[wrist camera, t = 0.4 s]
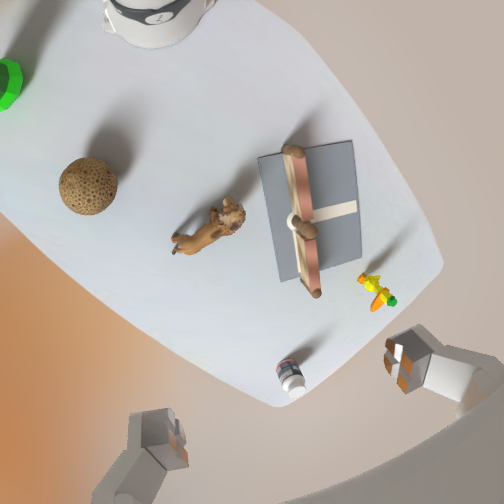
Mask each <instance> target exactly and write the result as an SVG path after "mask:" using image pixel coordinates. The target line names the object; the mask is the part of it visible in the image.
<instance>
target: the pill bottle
mask: <svg viewBox="0 0 504 504" xmlns="http://www.w3.org/2000/svg"><path fill="white" fill-rule="evenodd" d="M276 372H277V375H278V377H279V379H280V382H281V384H282V387H283V389H284V390H285V391H287V392H288V394H289V396H290V397H291V398H298V397H301V396H302V395H304V394H305V392H306V387H305V385H304V384H305V379H304V377H303V375H302V373H301V371H300V369H299V367H298V365H297V363H296V362H295V361H294V360H292V359H286V360H283V361H281V362H280V363H279V364H278V365H277V367H276Z"/></svg>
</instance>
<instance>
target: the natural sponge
mask: <svg viewBox="0 0 504 504" xmlns="http://www.w3.org/2000/svg"><path fill="white" fill-rule="evenodd" d="M117 186H118V181H117V178H116V176H115V174H114V173H113V172H112V171H111V170H110V168H109V167H108V166H107V164H105V163H104V162H103V161H101V160H99V159H95V158H80V159H77V160H76V161H74V162H72V163H71V164H70V165H69V166H68V167H67V168H66V169H65V170H64V171H63V173H62V174H61V177H60V180H59V191H60V195H61V198H62V200H63V202H64V204H65V205H66V206H67V207H68V208H69V209H71V210H72V211H74V212H75V213H78V214H82V215H95V214H98V213H100V212H102V211H103V210H105V209H106V208H107V207H108V206H109V205H110V204H111V203H112V201H113V200H114V198H115V195H116V192H117Z"/></svg>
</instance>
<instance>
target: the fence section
mask: <svg viewBox="0 0 504 504" xmlns="http://www.w3.org/2000/svg"><path fill="white" fill-rule="evenodd" d="M291 223H292V225H293V226H294V227H295V228H296V229H297V230H298V231H297V232H295V234H296V241H297V248H298V255H299V262H300V269H301V279H300V280H301V282H302V283H303V285H304V286H305V287H306V288H307V290H308V291H309V292H310V294H311V295H312V296H313V298H319V297H320V296H321V294H322V292H321V285H320V274H319V265H318V256H317V247H316V239H315V237H316V236H317V234H318V229H317V227H316V226H315V225H313V224H312V223H311V222H309V221H304V222H303V221H302V220H301V218H300V217H299V216H297V215H294V216H293V217H292V220H291Z"/></svg>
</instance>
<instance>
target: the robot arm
mask: <svg viewBox="0 0 504 504" xmlns="http://www.w3.org/2000/svg"><path fill="white" fill-rule="evenodd" d="M103 1H104V3H105V5H104V14H103V24H102V27H103V30H104V31H105V32H107V33H111V34H116V35H119V36H121V37H122V38H123V39H125V40H126V41H127V42H129V43H130V44H133V45H135V46H138V47H142V48H161V47H166V46H169V45H172V44H174V43H176V42H178V41H180V40H182V39H183V38H185V37H186V36H187V35H189V34H190V33H191V32H192V31H193V29H194V28H195V27H196V25H197V24H198V22H199V20H200V18H201V16H202V15H203V14H204V13H205V12H206V11H208V10H209V9H210V8H212V7H213V5H214V4H215V0H103ZM108 20H109V21H108ZM385 347H386V348H387V349H388V350H387V351H386V353H385V354H384V364H385V368H386V370H387V371H388V373H389V374H390V376H393V377H396V378H397V384H398V386H399V387H400V388H401V389H402V391H403V392H404V393H405V394H407V393H409V392H411V391H413V390H415V389H417V388H419V387H421V386H422V385H423V387H425V388H427V389H430V390H432V391H434V392H437V393H439V394H441V395H443V396H446V397H448V398H450V399H453V400H455V401H457V402H460V403H459V405H458V408H457V410H456V412H455V416H456V417H457V418H458V419H457V420H456V421H455V422H453V423H452V424H450V425H449V426H447V427H446V428H444V429H443V430H441V431H440V432H438V433H437V434H435V435H433V436H432V437H430V438H429V439H427V440H425V441H424V442H422V443H420V444H419V445H417V446H415V447H413V448H412V449H410V450H408V451H406V452H404V453H403V454H401V455H399V456H397V457H395V458H393V459H391V460H389V461H387V462H386V463H383V464H381V465H379V466H377V467H375V468H373V469H371V470H369V471H367V472H364V473H362V474H360V475H358V476H355V477H353V478H351V479H348V480H346V481H343V482H341V483H339V484H336V485H333V486H331V487H328V488H325V489H323V490H320V491H317V492H314V493H311V494H308V495H305V496H302V497H299V498H296V499H293V500H290V501H286V502H283V503H279V504H504V365H503V364H502V363H501V362H500V361H499V360H498V359H497V358H496V357H494V356H490V355H486V354H481V353H478V352H474V351H469V350H465V349H461V348H458V347H454V346H450V345H446V346H444V345H443V344H442V343H441V342H439V341H438V340H437V339H436V338H435V337H434V336H433V335H432V334H431V333H430V332H429V331H428V330H427V329H426V328H424V327H423V326H422V325H421V324H417V325H415V326H413V327H411V328H409V329H406V330H404V331H402V332H401V333H398V334H396V335H394V336H392V337H390V338H388V339H387V340H386V343H385ZM127 442H128V443H127V450H123V452H122V453H121V454H120V456H119V457H118V459H117V460H116V461H115V463H114V464H113V465H112V467H111V468H110V469H109V471H108V472H107V473H106V475H105V476H104V477H103V479H102V480H101V481H100V483H99V484H98V486H97V487H96V488H95V490H94V491H93V492H92V501H91V502H92V503H91V504H152V502H153V500H154V499H155V497H156V495H157V492H158V491H159V489H160V487H161V484H162V482H163V480H164V478H165V476H166V474H167V471H170V470H176V469H182V468H187V467H189V464H188V455H187V452H186V450H185V449H184V448H183V447H184V445H185V444H186V437H185V433H184V429H183V427H182V425H181V423H180V421H179V420H178V419H175V416H174V412H173V410H172V409H171V408H164V409H158V410H152V411H145V412H138V413H132V414H130V416H129V424H128V441H127Z"/></svg>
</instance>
